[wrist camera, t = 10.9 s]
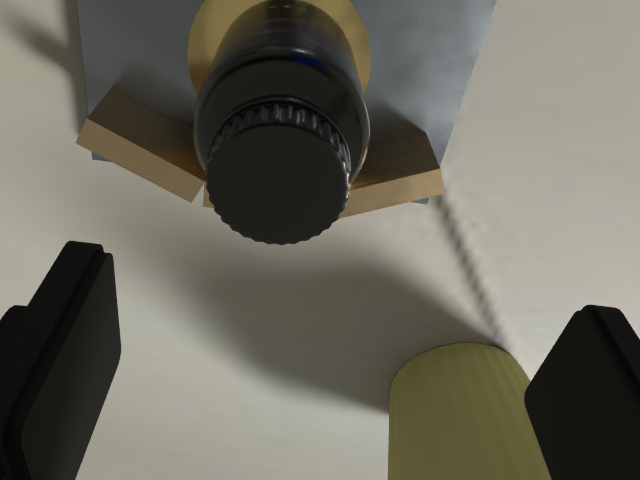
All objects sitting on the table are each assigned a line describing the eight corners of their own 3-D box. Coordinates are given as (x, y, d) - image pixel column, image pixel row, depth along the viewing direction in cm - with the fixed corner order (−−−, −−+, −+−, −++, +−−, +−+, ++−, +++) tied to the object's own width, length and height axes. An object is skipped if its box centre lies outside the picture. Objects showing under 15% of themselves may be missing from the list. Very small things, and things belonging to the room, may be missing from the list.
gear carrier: (554, -208, 22) (615, -220, 18) (422, 191, 34) (439, 244, 29) (60, -322, 20) (-11, -367, 15) (100, 147, 31) (66, 197, 27)
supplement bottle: (349, 130, 29) (369, 274, 20) (223, 126, 29) (181, 269, 19) (360, -5, 25) (394, 93, 15) (214, -11, 25) (155, 84, 15)
